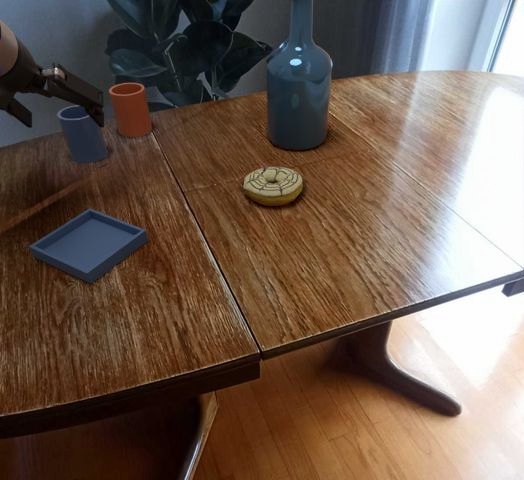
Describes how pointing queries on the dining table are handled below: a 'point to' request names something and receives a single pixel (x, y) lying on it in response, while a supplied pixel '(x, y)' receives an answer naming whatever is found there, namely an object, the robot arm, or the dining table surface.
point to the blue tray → (89, 245)
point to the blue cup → (82, 135)
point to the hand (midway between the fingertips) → (66, 120)
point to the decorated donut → (273, 185)
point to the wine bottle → (298, 85)
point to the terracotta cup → (131, 109)
